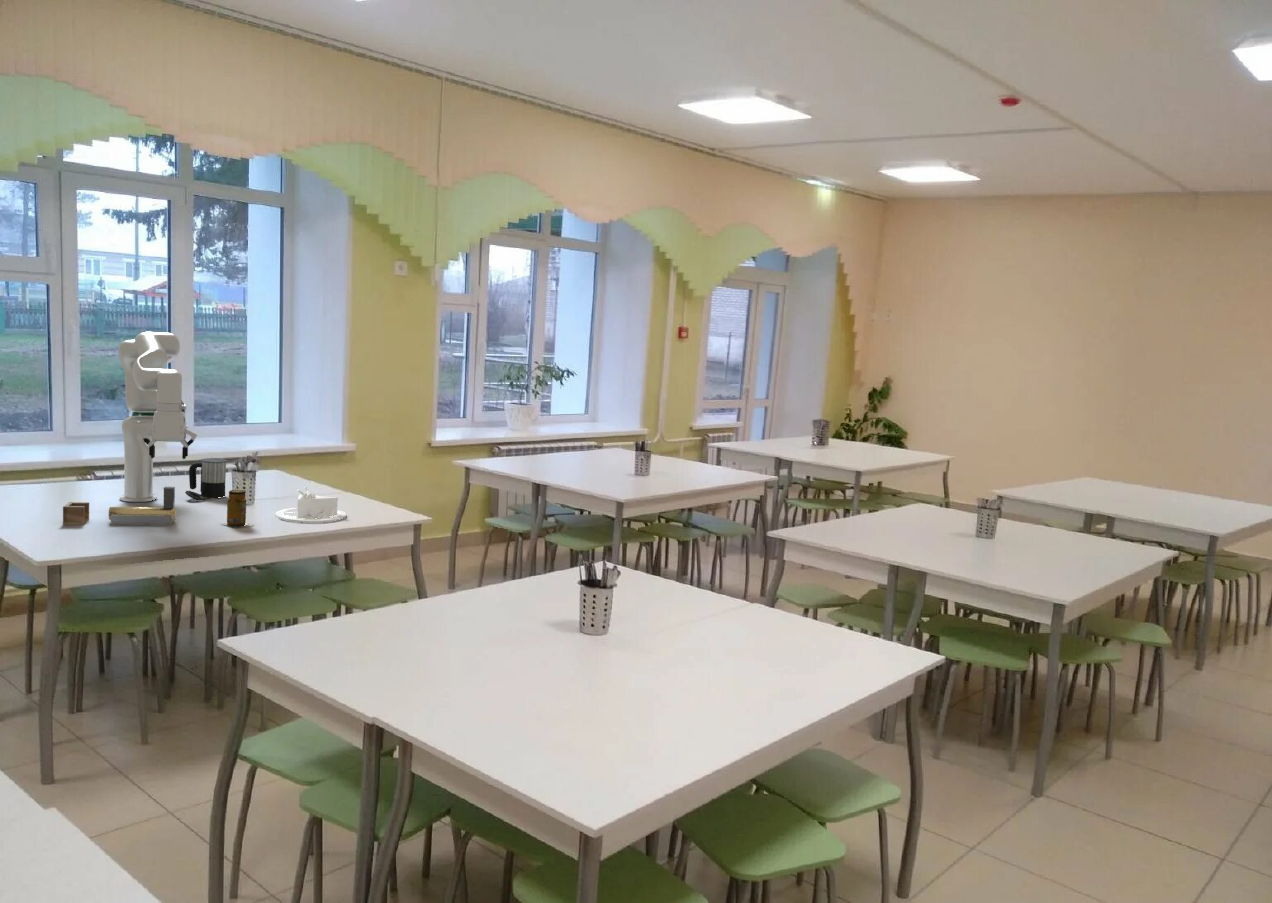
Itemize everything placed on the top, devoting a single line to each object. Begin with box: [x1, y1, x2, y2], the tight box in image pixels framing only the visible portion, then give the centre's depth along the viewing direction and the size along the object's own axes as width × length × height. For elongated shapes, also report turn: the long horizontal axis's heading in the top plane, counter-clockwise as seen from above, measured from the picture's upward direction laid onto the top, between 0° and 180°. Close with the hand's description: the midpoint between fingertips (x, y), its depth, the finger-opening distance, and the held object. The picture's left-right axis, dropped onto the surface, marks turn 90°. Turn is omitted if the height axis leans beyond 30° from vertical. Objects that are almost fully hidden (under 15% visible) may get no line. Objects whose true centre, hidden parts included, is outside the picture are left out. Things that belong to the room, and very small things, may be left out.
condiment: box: [221, 489, 254, 529], centre depth 331 cm, size 7×8×12 cm
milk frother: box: [184, 457, 228, 501], centre depth 372 cm, size 14×16×15 cm
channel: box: [110, 514, 175, 526], centre depth 325 cm, size 8×18×3 cm, turn 108°
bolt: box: [108, 486, 177, 521], centre depth 325 cm, size 4×20×11 cm, turn 108°
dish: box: [274, 484, 347, 524], centre depth 354 cm, size 25×25×11 cm
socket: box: [62, 501, 90, 526], centre depth 319 cm, size 8×6×6 cm
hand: (168, 458), depth 325 cm, fingers open, 9 cm apart
